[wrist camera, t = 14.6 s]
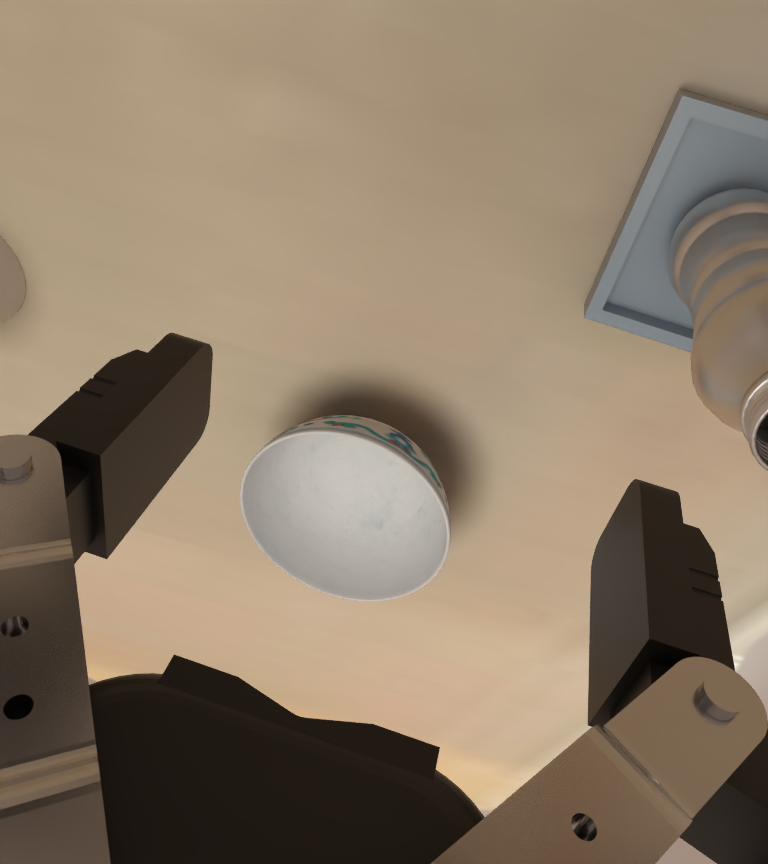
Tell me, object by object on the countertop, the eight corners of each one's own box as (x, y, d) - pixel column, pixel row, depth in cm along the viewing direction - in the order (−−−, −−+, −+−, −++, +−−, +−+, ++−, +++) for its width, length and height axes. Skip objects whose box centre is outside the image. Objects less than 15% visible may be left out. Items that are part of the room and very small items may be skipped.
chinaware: (283, 513, 61) (247, 577, 55) (274, 358, 53) (230, 414, 46) (457, 548, 58) (440, 620, 52) (478, 391, 50) (460, 454, 44)
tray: (679, 88, 37) (682, 95, 35) (903, 155, 36) (916, 165, 35) (584, 303, 44) (583, 317, 43) (768, 363, 44) (774, 379, 42)
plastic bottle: (640, 267, 42) (663, 467, 26) (711, 155, 38) (791, 311, 22) (741, 313, 42) (825, 542, 26) (822, 207, 38) (983, 400, 22)
